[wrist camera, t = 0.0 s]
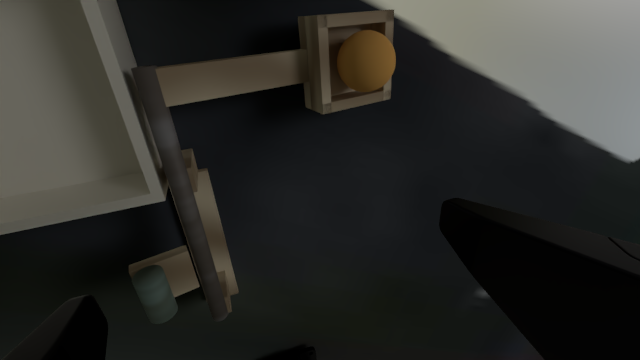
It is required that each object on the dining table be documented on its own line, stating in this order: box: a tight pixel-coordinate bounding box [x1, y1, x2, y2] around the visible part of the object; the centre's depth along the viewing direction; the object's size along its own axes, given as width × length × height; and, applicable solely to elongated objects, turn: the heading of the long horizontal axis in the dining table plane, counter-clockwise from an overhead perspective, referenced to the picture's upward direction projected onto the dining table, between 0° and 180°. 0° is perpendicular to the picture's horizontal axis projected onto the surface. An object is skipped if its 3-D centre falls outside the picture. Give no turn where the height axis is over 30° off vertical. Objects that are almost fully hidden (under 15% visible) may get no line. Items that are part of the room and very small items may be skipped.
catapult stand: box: [168, 148, 239, 313], centre depth 23 cm, size 20×13×3 cm
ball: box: [337, 30, 396, 92], centre depth 19 cm, size 3×3×3 cm
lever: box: [129, 10, 394, 324], centre depth 20 cm, size 19×18×3 cm
